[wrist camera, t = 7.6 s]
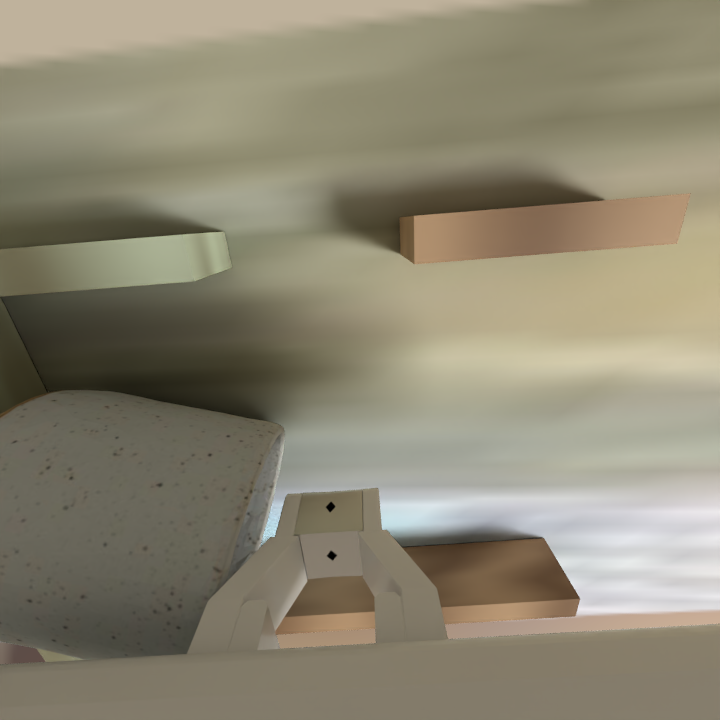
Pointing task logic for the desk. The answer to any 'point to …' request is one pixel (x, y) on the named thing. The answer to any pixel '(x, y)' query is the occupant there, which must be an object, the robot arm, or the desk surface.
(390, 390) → the desk surface
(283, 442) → the ceramic mug
